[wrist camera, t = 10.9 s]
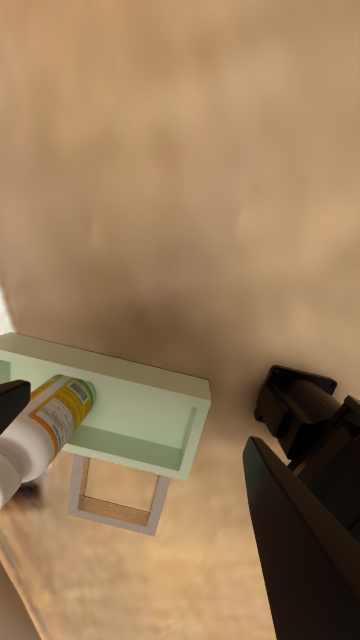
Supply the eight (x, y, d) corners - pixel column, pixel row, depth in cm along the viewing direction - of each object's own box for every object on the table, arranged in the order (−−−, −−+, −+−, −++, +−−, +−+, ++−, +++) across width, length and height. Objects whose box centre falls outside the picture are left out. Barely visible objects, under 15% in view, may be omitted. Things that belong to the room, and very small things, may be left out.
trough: (208, 380, 20) (211, 401, 17) (187, 450, 22) (186, 481, 19) (10, 332, 20) (-26, 343, 17) (9, 406, 23) (-24, 429, 19)
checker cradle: (175, 454, 23) (173, 466, 21) (156, 521, 25) (154, 536, 24) (83, 431, 23) (75, 442, 21) (74, 500, 25) (67, 514, 24)
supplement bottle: (47, 408, 21) (-71, 515, 12) (49, 365, 20) (-81, 446, 10) (94, 419, 21) (13, 536, 11) (99, 376, 20) (13, 468, 10)
